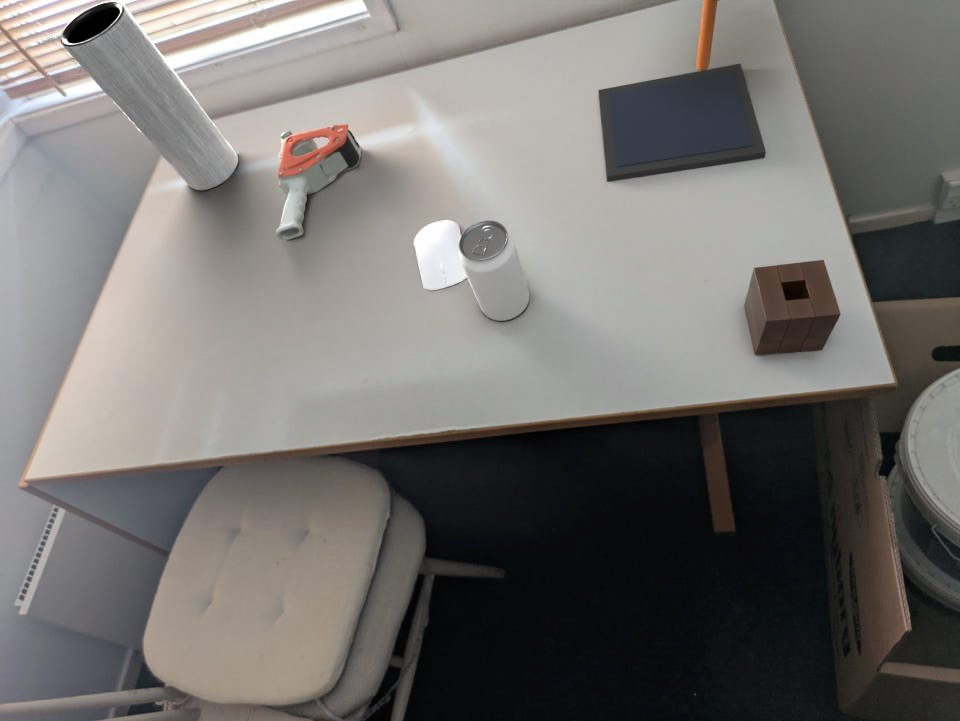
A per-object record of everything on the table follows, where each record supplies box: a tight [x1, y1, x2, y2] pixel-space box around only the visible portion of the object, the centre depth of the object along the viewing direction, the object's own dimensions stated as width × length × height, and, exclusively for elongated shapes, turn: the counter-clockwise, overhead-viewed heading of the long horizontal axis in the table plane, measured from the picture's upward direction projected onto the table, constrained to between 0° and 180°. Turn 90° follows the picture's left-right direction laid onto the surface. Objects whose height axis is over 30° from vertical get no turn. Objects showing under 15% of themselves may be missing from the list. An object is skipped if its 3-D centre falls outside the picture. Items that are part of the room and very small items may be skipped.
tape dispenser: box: [274, 124, 363, 241], centre depth 93 cm, size 18×5×20 cm
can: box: [459, 219, 530, 322], centre depth 70 cm, size 6×6×12 cm
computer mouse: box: [413, 219, 468, 291], centre depth 80 cm, size 7×12×2 cm, turn 10°
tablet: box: [597, 63, 767, 182], centre depth 82 cm, size 20×18×1 cm
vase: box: [60, 0, 239, 191], centre depth 92 cm, size 10×10×27 cm
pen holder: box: [743, 259, 841, 356], centre depth 61 cm, size 7×7×7 cm
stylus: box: [695, 0, 718, 71], centre depth 71 cm, size 2×2×14 cm
